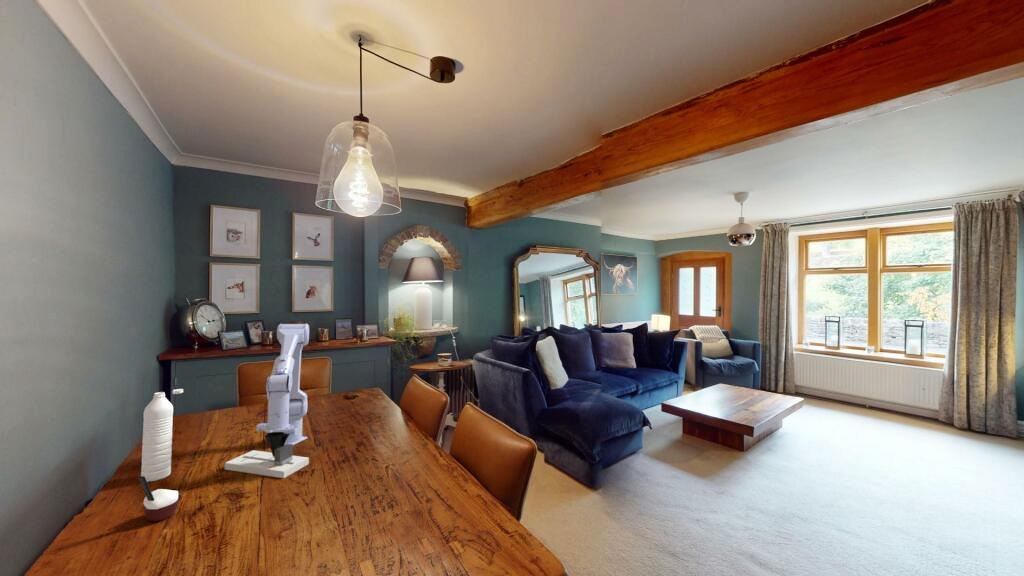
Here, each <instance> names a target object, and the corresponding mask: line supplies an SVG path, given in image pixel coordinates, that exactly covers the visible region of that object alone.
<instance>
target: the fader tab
mask: <svg viewBox="0 0 1024 576" xmlns="http://www.w3.org/2000/svg"><path fill="white" fill-rule="evenodd" d="M293 447H294V445H293V444H286V445H284V446H282V447H280V448H278V449H276V450H275V457H274V464H278V465H283V464H285V463H287V462H289V461H291V460H293V457H292V456H294V454H293V452H294V451H293V450H294V448H293Z"/></svg>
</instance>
